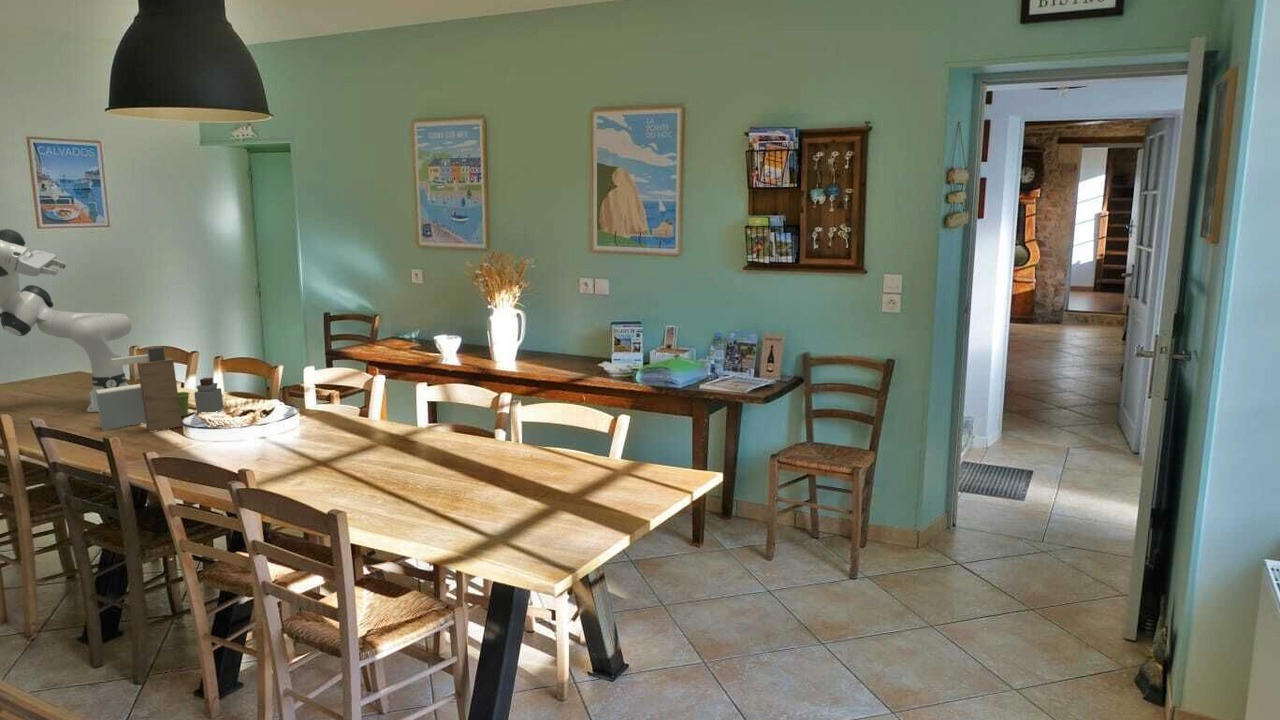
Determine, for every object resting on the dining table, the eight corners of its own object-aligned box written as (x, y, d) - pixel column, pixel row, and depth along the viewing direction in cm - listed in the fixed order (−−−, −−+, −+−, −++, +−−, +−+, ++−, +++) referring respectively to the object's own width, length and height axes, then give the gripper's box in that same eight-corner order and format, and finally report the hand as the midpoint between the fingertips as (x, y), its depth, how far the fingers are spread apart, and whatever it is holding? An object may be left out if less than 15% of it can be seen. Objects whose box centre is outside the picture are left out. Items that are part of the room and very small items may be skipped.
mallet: (113, 366, 335) (111, 353, 334) (111, 364, 339) (109, 352, 338) (165, 360, 344) (163, 347, 344) (162, 358, 348) (160, 345, 347)
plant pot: (161, 419, 362) (158, 398, 361) (173, 413, 372) (170, 392, 370) (186, 418, 363) (183, 396, 361) (196, 412, 372) (193, 391, 370)
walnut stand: (146, 428, 350) (136, 360, 345) (178, 422, 356) (169, 356, 351) (150, 432, 343) (140, 364, 338) (182, 426, 350) (173, 359, 345)
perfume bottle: (225, 422, 354) (219, 376, 351) (215, 427, 348) (209, 380, 344) (208, 422, 355) (202, 376, 351) (198, 427, 348) (192, 380, 345)
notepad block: (101, 426, 354) (95, 390, 351) (147, 419, 363) (142, 383, 360) (103, 430, 348) (97, 393, 346) (150, 422, 358) (145, 386, 355)
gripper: (28, 258, 351) (68, 270, 356) (7, 272, 333) (49, 284, 337) (32, 243, 350) (72, 255, 354) (10, 256, 331) (53, 269, 336)
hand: (61, 269), depth 345 cm, fingers open, 8 cm apart
